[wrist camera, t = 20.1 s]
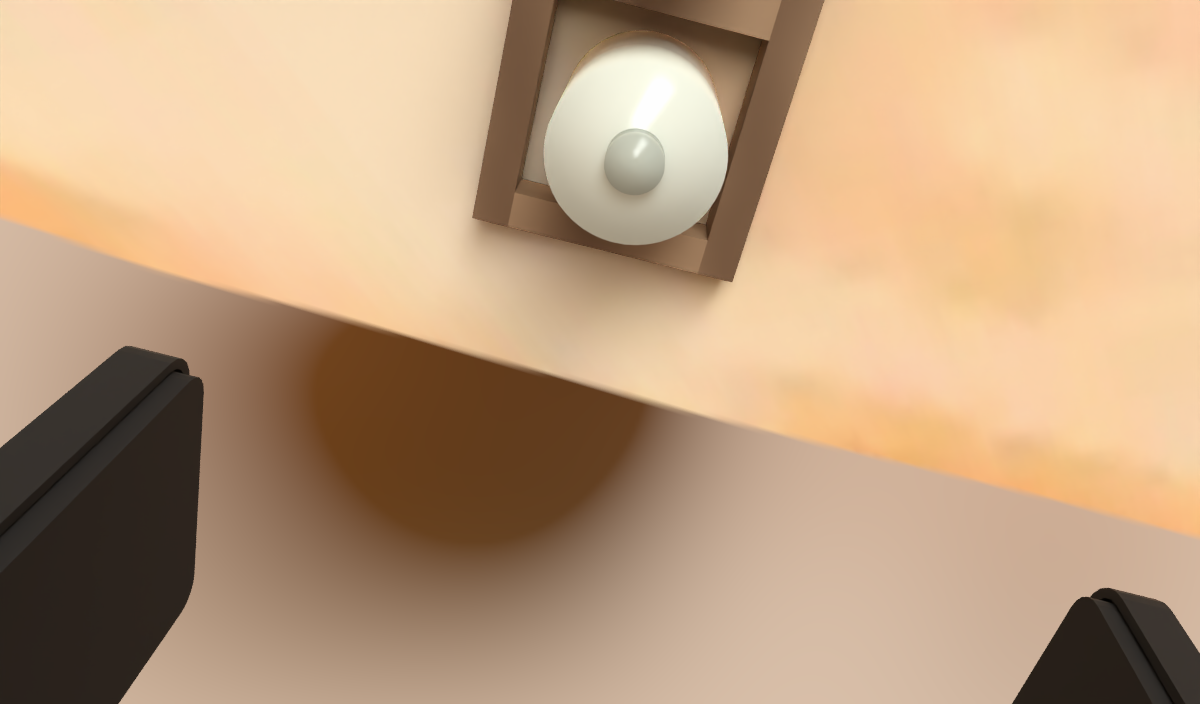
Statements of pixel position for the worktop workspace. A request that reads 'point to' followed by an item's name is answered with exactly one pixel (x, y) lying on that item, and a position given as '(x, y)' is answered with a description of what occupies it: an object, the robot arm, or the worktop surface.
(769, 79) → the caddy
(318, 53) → the worktop surface
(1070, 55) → the worktop surface
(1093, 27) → the worktop surface
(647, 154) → the sugar pot
